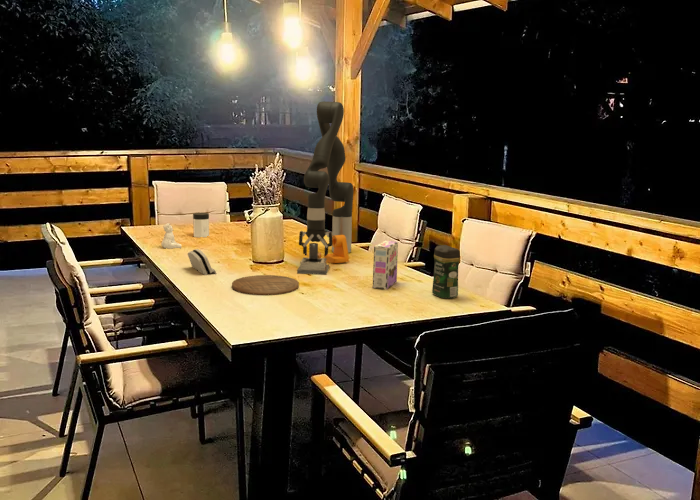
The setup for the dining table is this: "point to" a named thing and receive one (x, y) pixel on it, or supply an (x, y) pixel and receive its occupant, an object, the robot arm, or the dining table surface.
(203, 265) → the beige fin shape
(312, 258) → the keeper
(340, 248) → the bracket
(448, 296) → the coffee jar
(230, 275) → the dining table surface
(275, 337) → the dining table surface
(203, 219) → the jar
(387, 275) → the candy box
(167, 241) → the white creature statuette
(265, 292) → the trivet
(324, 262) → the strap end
